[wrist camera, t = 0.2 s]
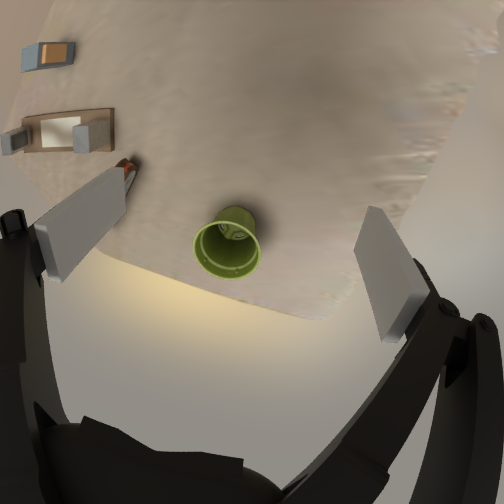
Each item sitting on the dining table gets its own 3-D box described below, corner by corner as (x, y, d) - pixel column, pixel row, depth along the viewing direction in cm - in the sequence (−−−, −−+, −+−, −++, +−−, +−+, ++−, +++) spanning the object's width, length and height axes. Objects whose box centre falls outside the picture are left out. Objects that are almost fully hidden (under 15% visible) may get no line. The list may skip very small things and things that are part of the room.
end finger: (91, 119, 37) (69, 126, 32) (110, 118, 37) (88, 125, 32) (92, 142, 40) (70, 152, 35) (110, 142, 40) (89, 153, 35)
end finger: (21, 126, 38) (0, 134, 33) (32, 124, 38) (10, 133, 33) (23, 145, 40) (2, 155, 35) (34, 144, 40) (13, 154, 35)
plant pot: (218, 252, 50) (206, 284, 43) (198, 203, 46) (182, 230, 38) (271, 242, 48) (268, 274, 41) (255, 189, 43) (249, 214, 36)
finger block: (58, 46, 31) (22, 48, 23) (78, 41, 31) (42, 41, 23) (56, 67, 33) (20, 72, 26) (76, 63, 33) (40, 66, 26)
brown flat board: (25, 117, 38) (21, 118, 37) (114, 108, 38) (109, 109, 36) (28, 150, 42) (23, 152, 41) (114, 149, 41) (110, 151, 40)
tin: (132, 151, 41) (105, 167, 34) (147, 161, 42) (122, 179, 35) (101, 218, 49) (77, 242, 42) (114, 227, 50) (91, 252, 43)
